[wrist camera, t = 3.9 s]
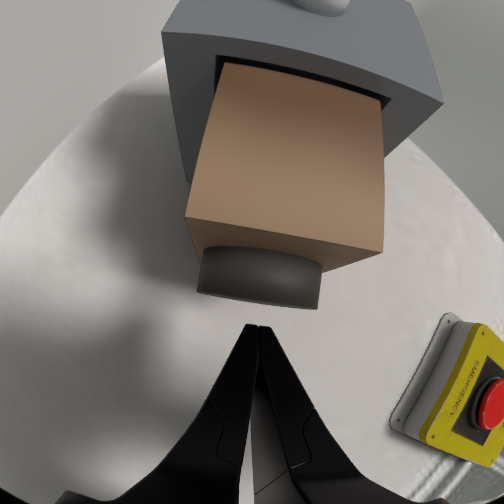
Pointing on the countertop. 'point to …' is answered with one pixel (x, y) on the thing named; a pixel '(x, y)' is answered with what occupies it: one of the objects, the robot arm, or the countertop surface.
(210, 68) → the housing
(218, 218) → the plunger
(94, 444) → the countertop surface
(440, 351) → the emergency button
